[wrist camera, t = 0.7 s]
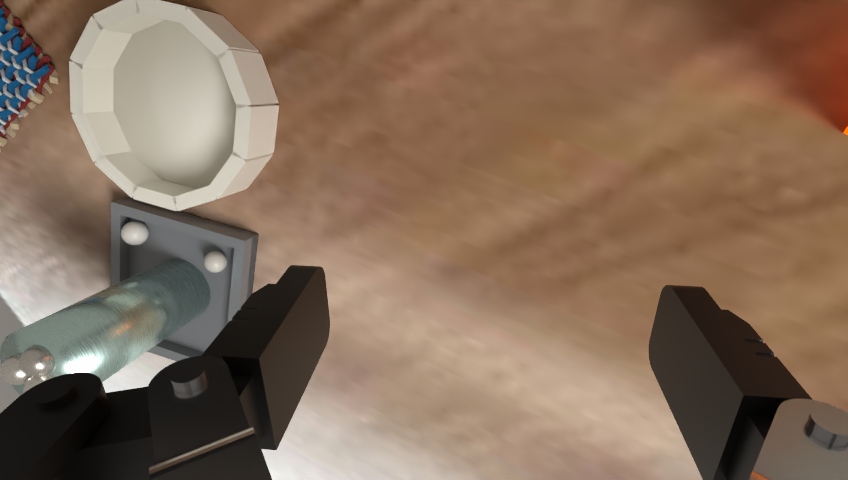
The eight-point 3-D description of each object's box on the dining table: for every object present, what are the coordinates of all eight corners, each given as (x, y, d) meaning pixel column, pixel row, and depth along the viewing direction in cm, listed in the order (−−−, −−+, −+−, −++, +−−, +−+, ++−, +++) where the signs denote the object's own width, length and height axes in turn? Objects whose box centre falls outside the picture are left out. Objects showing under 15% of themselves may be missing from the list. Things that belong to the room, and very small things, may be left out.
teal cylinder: (154, 251, 38) (-25, 328, 26) (212, 268, 37) (56, 356, 25) (153, 307, 40) (-17, 405, 27) (208, 325, 39) (60, 433, 27)
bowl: (112, -11, 33) (66, -22, 30) (287, 29, 32) (259, 23, 28) (112, 173, 38) (72, 181, 34) (266, 217, 36) (240, 230, 33)
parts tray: (129, 196, 38) (101, 204, 35) (258, 234, 36) (238, 244, 34) (127, 329, 42) (102, 343, 39) (244, 367, 40) (225, 385, 38)
